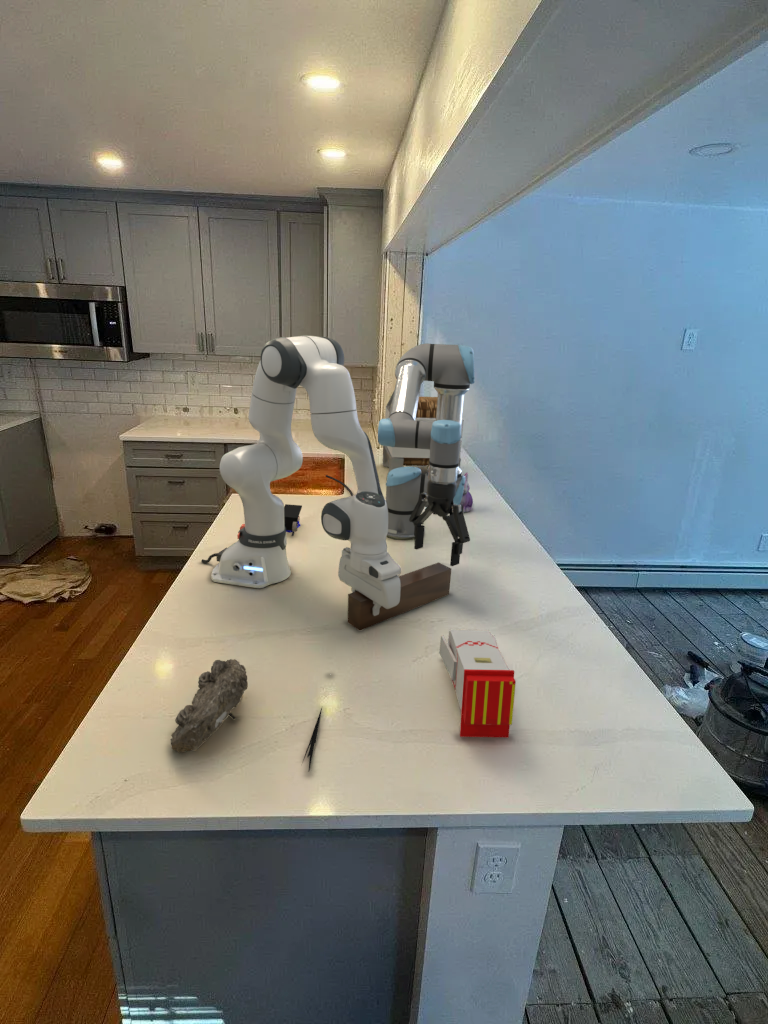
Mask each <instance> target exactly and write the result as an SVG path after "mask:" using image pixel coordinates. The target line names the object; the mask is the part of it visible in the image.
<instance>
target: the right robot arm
mask: <svg viewBox="0 0 768 1024" xmlns="http://www.w3.org/2000/svg"><path fill="white" fill-rule="evenodd" d="M474 352H475V351H474V349H473V347H471V346H469V345H463V344H443V343H427V342H426V343H421V344H420V343H419V344H418V345H415V346H413V347H411V348H410V349H408V350H407V351H405V353H404V354H403V355H402V356H401V357H400V358H399V360H398V361H397V364H396V366H395V370H394V377H395V379H396V380H395V386H394V389H393V392H394V395H393V399H392V404H391V409H390V413H389V418H387V419H385V418H381V419H380V420H379V421H378V425H377V442H378V444H379V446H382V447H383V446H390V447H400V448H418V449H430V461H429V466H427V467H428V468H427V472H422V469H421V468H420V467H419V466H403V467H400V468H396V469H393V470H391V471H390V472H389V471H388V473H387V475H386V482H385V487H386V488H385V500H386V503H387V508H388V534H387V536H386V539H389V540H395V541H410V540H414V550H416V551H417V550H419V549H423V548H424V540H425V528H426V527H425V522H426V521H427V520H428V519H429V518H430V517H431V516H432V514H433V515H435V516H438V517H440V518H442V520H443V521H445V523H446V526H447V528H448V530H449V533H450V534H451V537H452V538H453V541H452V542H451V551H450V552H451V553H450V564H449V566H450V567H454V566H458V565H460V560H461V555H462V554H463V549H464V548H463V547H464V544H465V543H469V542H471V537H470V534H469V530H468V526H467V522H466V518H465V514H464V512H463V505H462V504H460V503H461V499H462V495H463V491H464V485H465V476H464V474H462V473H463V470H462V469H461V467H460V468H459V467H458V460H459V451H460V440H461V441H462V438H461V425H462V419H463V414H464V413H463V412H464V402H465V401H464V400H465V394H466V393H467V392H468V391H470V388H471V385H473V384H475V382H476V381H475V379H476V377H475V373H476V372H475V353H474ZM424 382H433V389H434V390H435V391H436V393H437V396H436V397H437V410H436V421H434V422H430V421H415V419H416V413H417V406H418V400H419V397H420V392H421V386H422V384H423V383H424ZM325 477H326V478H328V479H330V480H332V481H335V482H336V483H339V484H340V485H342V486H343V487H344V488H345V489H346V490H347V492H349V495H350V496H353V495H354V493H353V491H352V490H351V489H350V488H349V486H348V485H347V484H345V483H344V482H342V481H341V480H339V479H338V478H335V477H333V476H330V475H328V474H326V475H325Z"/></svg>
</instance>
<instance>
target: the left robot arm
mask: <svg viewBox="0 0 768 1024" xmlns="http://www.w3.org/2000/svg"><path fill="white" fill-rule="evenodd" d="M344 365H345V354H344V350H343V348H342V346H341V344H340V343H339V342H338V341H336V340H335V339H334V338H330V337H327V336H315V335H298V336H289V337H284V336H279V337H276V338H273V339H270V340H268V341H267V342H266V343H264V344H263V347H262V348H261V351H260V359H259V362H258V364H257V367H256V370H255V374H254V378H253V382H252V388H251V394H250V402H249V409H248V421H249V424H250V426H251V427H252V428H253V429H254V430H255V431H256V432H259V440H258V441H257V443H254V444H249V445H244V446H239V447H237V448H234V449H232V450H230V451H228V452H226V453H225V454H223V456H222V457H221V459H220V462H219V474H220V476H221V479H222V481H223V482H224V483H225V484H226V485H227V486H228V487H230V488H231V489H233V490H234V491H235V492H236V493H237V494H238V496H239V498H240V500H241V503H242V508H243V516H244V518H243V519H244V520H243V521H244V523H242V524H241V526H240V527H239V530H238V531H237V535H236V536H237V540H236V541H235V542H234V543H232V544H231V545H229V546H228V547H225V548H223V549H222V550H221V551H219V552H216V553H213V554H211V555H209V556H208V558H207V559H204V558H203V559H201V563H205V564H208V563H210V562H211V561H212V559H213V558H215V557H216V562H218V563H217V564H216V565H215V566H214V567H213V569H212V570H211V576H210V579H211V581H212V582H214V583H221V584H227V585H233V586H240V587H247V588H254V589H263V588H266V587H268V586H269V585H274V584H277V583H280V582H283V581H285V580H287V579H288V578H289V577H290V576H291V574H292V570H291V568H290V564H289V560H288V555H287V554H288V553H287V544H288V534H287V533H288V532H286V528H285V526H284V506H285V504H284V502H283V500H282V499H281V498H280V497H279V496H278V495H275V494H273V492H272V490H271V482H274V481H278V480H281V479H285V478H288V477H289V476H292V475H293V474H295V473H296V472H298V471H299V470H300V469H301V468H302V466H303V461H304V457H303V452H302V451H303V450H302V449H301V447H300V446H299V445H298V443H297V442H296V441H295V440H294V438H293V434H292V421H293V414H294V409H295V402H296V397H297V396H296V395H297V389H298V388H299V386H300V387H302V388H303V389H304V390H305V391H306V393H307V395H308V402H309V413H310V423H311V429H312V431H313V432H312V433H313V435H314V438H315V439H316V440H317V441H318V442H319V443H320V444H321V445H323V447H326V448H328V449H330V450H333V451H337V452H339V453H342V454H345V455H346V456H347V457H348V458H349V460H350V461H351V465H352V469H353V473H354V477H355V482H356V486H357V491H356V493H355V494H353V496H351V495H350V496H346V497H341V498H338V499H334V500H331V501H329V502H327V503H326V504H325V505H324V506H323V508H322V510H321V514H320V520H321V527H322V529H323V531H324V532H325V534H327V536H329V537H331V538H332V539H336V540H339V541H349V542H350V547H347V546H346V547H344V548H342V550H341V557H340V558H339V562H338V571H337V576H338V579H339V581H341V583H344V584H345V585H347V586H348V587H350V589H351V593H353V592H356V591H358V592H360V593H362V594H363V595H365V596H366V597H368V598H370V599H371V600H373V604H375V605H374V607H371V608H370V613H371V614H372V615H374V616H376V615H378V614H379V609H380V607H381V606H383V607H384V608H386V609H390V608H392V607H395V606H397V605H398V604H399V602H400V587H401V586H400V579H399V577H398V576H400V575H401V572H402V567H401V565H400V564H399V563H398V562H396V560H395V559H394V558H393V557H392V556H391V554H390V553H389V552H388V543H387V537H386V536H387V534H388V508H387V503H386V498H385V496H384V493H383V491H382V488H381V483H380V479H379V473H378V469H377V464H376V460H375V456H374V450H373V446H372V443H371V440H370V438H369V435H368V434H367V432H365V431H364V430H363V429H362V426H361V423H360V420H359V416H358V409H357V401H356V400H357V399H356V393H355V389H354V385H353V380H352V377H351V374H350V371H349V370H348V368H346V367H345V366H344Z"/></svg>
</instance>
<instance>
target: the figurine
mask: <svg viewBox="0 0 768 1024" xmlns="http://www.w3.org/2000/svg"><path fill="white" fill-rule="evenodd" d="M463 476H465V485H464V491H463V495H462V499H461V503H460V504H462V505H463V513H468V512H470V511H471V510H472V509H473V505H474V499H473V496H472V494H471V492H470V489H471V487H470V484H469V482H468V479H469V473H468V472H465V473H464V474H463Z"/></svg>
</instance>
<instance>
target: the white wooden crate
mask: <svg viewBox="0 0 768 1024" xmlns="http://www.w3.org/2000/svg"><path fill="white" fill-rule="evenodd" d="M393 395H394V391H393V392H392V393H391V395H390V398H389V400H388V402H387V403H386V405H385V413H384V414H385V416H384V419H387V418H389V413H390V409H391V404H392V399H393ZM437 397H438V396H419V400H418V406H417V413H416V419H415V421H430V422H434V421H436V410H437ZM463 431H464V419H463V418H462V425H461V440H460V451H459V460H458V467H459V468H460V469H461V462H462V458H461V452H462V443H463V442H462V438H463ZM429 461H430V449H418V448H400V447H390V446H382V463H381V464H382V465H383V467H386V468H388V473H389V472H390V471H391V470H393V469H396V468H400V467H426V466H427V467H429Z"/></svg>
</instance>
